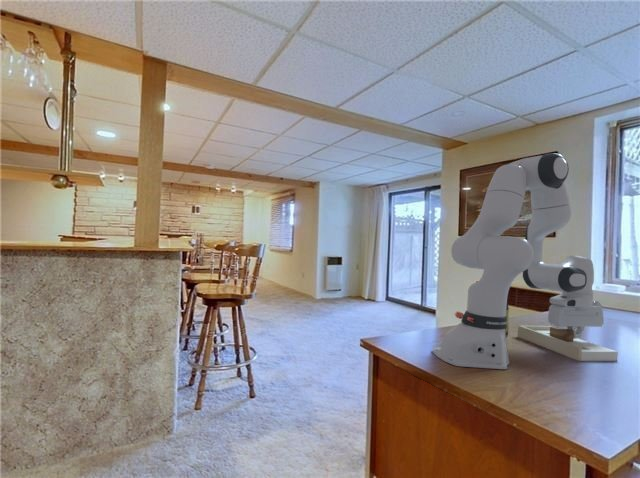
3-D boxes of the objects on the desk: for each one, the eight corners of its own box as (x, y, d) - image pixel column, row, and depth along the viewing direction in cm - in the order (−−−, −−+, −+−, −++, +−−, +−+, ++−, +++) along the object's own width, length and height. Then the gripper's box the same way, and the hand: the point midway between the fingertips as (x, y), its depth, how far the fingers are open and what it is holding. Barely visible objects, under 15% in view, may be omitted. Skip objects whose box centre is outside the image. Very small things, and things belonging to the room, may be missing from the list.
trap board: (578, 360, 105) (579, 347, 105) (517, 336, 131) (518, 325, 131) (617, 360, 108) (617, 347, 108) (549, 336, 133) (550, 326, 133)
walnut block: (561, 341, 116) (561, 330, 116) (549, 337, 121) (549, 326, 121) (573, 341, 117) (574, 330, 117) (561, 337, 121) (561, 327, 121)
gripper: (592, 299, 123) (590, 335, 123) (545, 298, 120) (543, 335, 120) (609, 302, 117) (608, 341, 117) (560, 301, 114) (559, 341, 114)
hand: (575, 338), depth 118 cm, fingers closed
